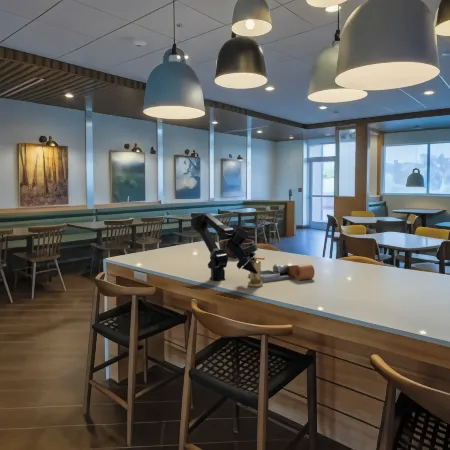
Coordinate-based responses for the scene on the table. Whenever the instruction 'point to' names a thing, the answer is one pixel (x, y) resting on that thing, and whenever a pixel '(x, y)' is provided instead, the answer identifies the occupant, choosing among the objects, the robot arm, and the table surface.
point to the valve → (256, 278)
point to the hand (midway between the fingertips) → (258, 272)
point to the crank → (302, 271)
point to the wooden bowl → (227, 251)
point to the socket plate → (276, 274)
